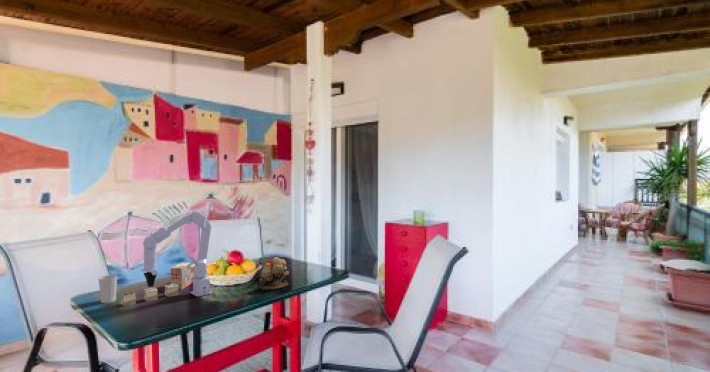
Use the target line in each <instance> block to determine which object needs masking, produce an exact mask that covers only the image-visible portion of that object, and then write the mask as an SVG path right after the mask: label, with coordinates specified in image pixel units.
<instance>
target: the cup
mask: <svg viewBox="0 0 710 372" xmlns="http://www.w3.org/2000/svg"><path fill="white" fill-rule="evenodd" d="M117 285H118V275H117V274H109V275H103V276H100V277H98V286H99V294H100V303H101V304H107V303H108V304H109V303H112V302H115V301H117Z"/></svg>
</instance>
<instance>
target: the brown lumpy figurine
mask: <svg viewBox="0 0 710 372" xmlns="http://www.w3.org/2000/svg"><path fill="white" fill-rule="evenodd" d="M272 260H273V264H274V265H273V266H272V265H271V264H270V263H267V262H265V264H264V265H263V268H262V270H261V278H259V282H260V283H262V284H261V285H260V286H259V289H260V290H261V289H262V290H261V291H264V290H271V291H276V290H275V289H278V290H281V289H280V288H282V289H284V287H285V288H287V287H289V285H290V284H289V282H288V281H287V280H285V278H287V277H288V275H289V274H290V272H289V270H287V262H286V260H285V259H281V258H280V257H277V256H275V257H273V259H272ZM286 286H287V287H286Z"/></svg>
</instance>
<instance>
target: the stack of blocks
mask: <svg viewBox="0 0 710 372" xmlns="http://www.w3.org/2000/svg"><path fill="white" fill-rule="evenodd" d="M195 264H196V263H193V264H192V262H180V263H177V264H176V265H174V266H172V267H170V284H176V285H178V290H183V289H185V288H187V287H188V286H190V285H191V284H193V276H194V275H195V274H194V266H195Z"/></svg>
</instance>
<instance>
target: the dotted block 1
mask: <svg viewBox="0 0 710 372" xmlns="http://www.w3.org/2000/svg"><path fill="white" fill-rule="evenodd" d="M136 297H137V296H136V293H135V292H133V291H129V292H124V293H121V294H120V299H121V300H120V301H121V302H120V304H121V305H122V307H126V306H133V305H136V303H137V301H136V300H137V298H136Z"/></svg>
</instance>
